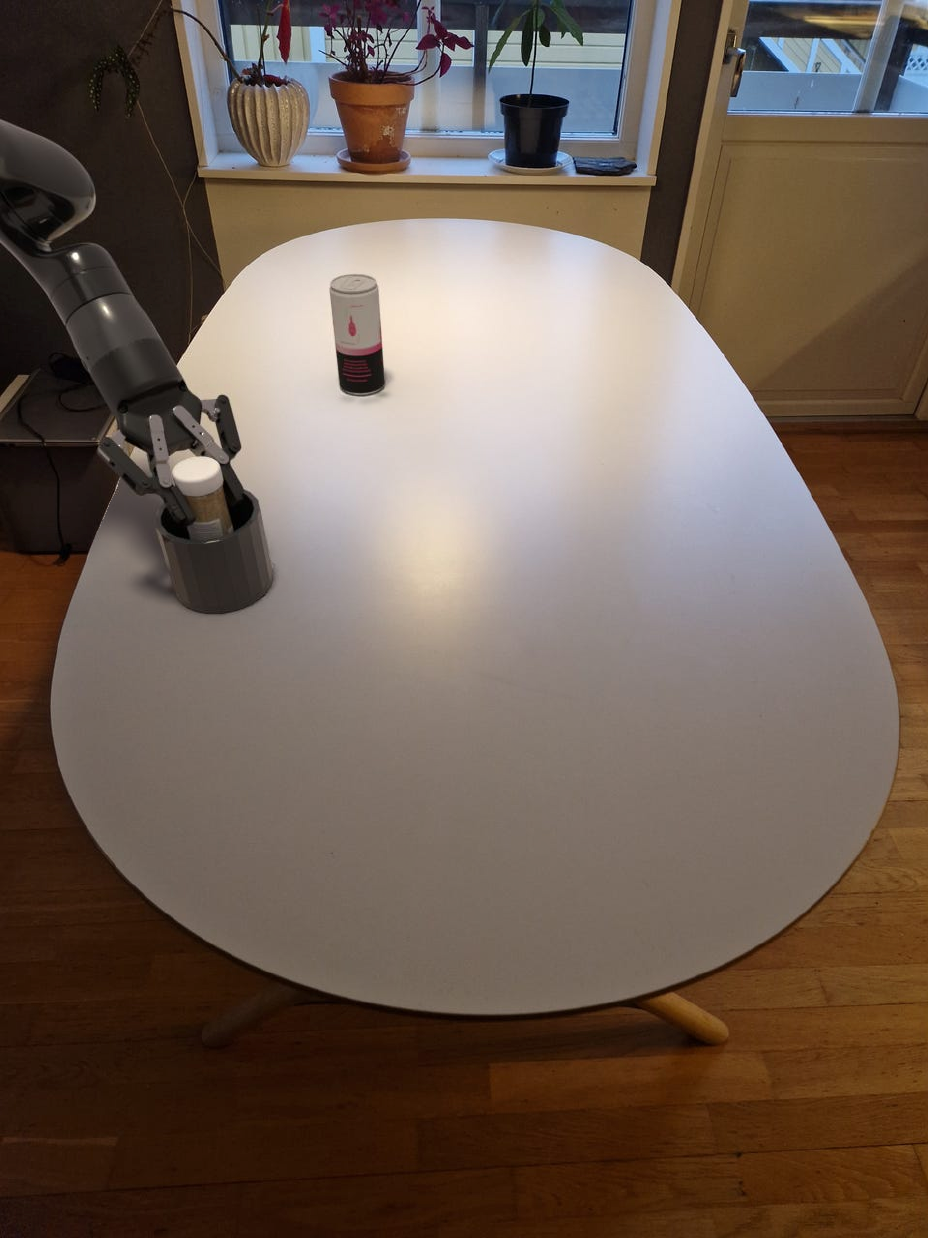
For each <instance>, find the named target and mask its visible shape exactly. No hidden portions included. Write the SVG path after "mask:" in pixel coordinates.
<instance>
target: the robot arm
mask: <svg viewBox="0 0 928 1238" xmlns="http://www.w3.org/2000/svg"><path fill="white" fill-rule="evenodd" d="M96 197H97V194H96V190H95V186H94V182H93V180H92V178H91V176H90V174H89V172H88V171H87V169H86V168H85V166H83V164H82V163H81V162H80V161H79V160H78V159H77V158H76V157H75V156H74V155H73V154H72V153H70V152H69V151H68V150H67V149H66V148H64V147H62V146H60V145H59V144H57V143H56V142H55V141H52V140H50V139H48V138H46V137H44V136H42V135H39V134H37V133H34V132H32V131H29V130H27V129H25V128H22V127H20V126H18V125H15V124H13V123H11V122H9V121H6V120H4V119H1V118H0V244H1V245H2V246H4V248H6V250H7V251H9V252H10V253H11V254H12V255H13V256H14V257H15V258H16V259H17V260H18V261H19V263H20V264H21V265H22V266H23V267H24V268H25V269H26V270H27V272H29V274H30V275H31V276H32V277H33V278H34V280H35V281H36V282H37V284H39V286H40V287H41V288H42V290H43V291H44V292H45V294H46V295H47V297H48V299H49V301H50V302H51V304H52V306H53V307H54V309H55V311H56V313H57V314H58V316H59V318H60V320H61V321H62V324H63V325H64V327H65V328H66V331H67V332H68V334H69V337H70V339H71V341H72V344H73V347H74V349H75V351H76V352H77V355H78V356H79V358H80V359H81V360H80V361H81V363H82V365H83V368H84V369H85V371H87V373H88V374H89V375H90V377H91V379H92V381H93V383H94V385H95V386H96V388H97V389H98V391H99V393H100V395H101V397H102V398H103V400H104V402H105V403H106V405H107V407H108V409H109V411H110V412H111V414H112V416H113V417H114V419H115V421H116V431H115V432H114V433H113V434H111V435H110V436H103V437H101V438H100V439H99V443H98V446H97V449H96V454H97V455H98V457H99V458H100V459H101V460H102V461H103V462H105V464H106V465H107V466H108V467H109V468H110V469H111V470H112V471H113V472H114V473H115V474H116V475H117V476H118V477H119V478H120V479H121V480H122V481H123V482H124V483H125V485H127V486H128V487H129V488H130V489H131V490H132V491H133V492H134V493H135V494H136V495H137V496H139V497H144V496H146V495H157V496H158V497H160V498H161V500H162V502H163V504H164V503H165V505H166V507H167V509H168V510H169V512H170V514H171V516H172V517H173V519H174V520H175V521H176V522H177V523H178V524H179V523H183V525H184V526H185V527H188V526H190V525H192V524H193V523H194V522H195V521H196V518H195V516H194V514H193V512H192V510H191V509H190V507H189V505H188V503H187V502H186V500H185V498H184V496H183V495H182V493H181V491H180V489H179V488H178V486H177V485H176V486H175V484H174V480H173V476H172V471H171V467H170V457H171V456H173V454H174V453H176V452H183V451H184V452H185V451H186V450H189V451H190V452H191V453H192V454H193V455H194V456H195V457H199V456H202V457H209V458H212V459H214V460H216V461H217V462H218V463H219V465H220V467H221V471H222V476H223V490H224V494H225V496H226V498H227V500H228V501H229V503H230V505H231V506H232V507H233V506H236V505H238V504H240V502H241V501H242V500H243V497H242V494H243V493H244V489H245V488H244V486H243V484H242V482H241V481H240V479H239V477H238V475H237V474H236V472H235V470H234V469H233V466H232V463H231V461H232V460H234V459H235V458H236V456H237V454H238V453H239V452H241V449H242V442H241V440H240V435H239V431H238V427H237V424H236V420H235V417H234V412H233V409H232V405H231V402H230V401H231V400H230V398H229V397H228V395H226V394H219V395H218V396H217V397H216V398H209V399H200V398H199V396H197V395H196V394H195V393H193V392H192V391H191V390H190V388H189V387H188V384H187V383H186V380H185V379H184V377H183V375H182V373H181V372H180V369H179V368H178V366H177V365H176V363H175V361H174V359H173V357H172V355H171V354H170V352H169V350H168V348H167V347H166V345H165V343H164V341H163V340H162V338H161V336H160V334H159V333H158V331H157V329H156V327H155V325H154V324H153V322H152V321H151V319H150V317H149V315H148V314H147V312H146V311H145V309H143V307H142V306H141V305H140V303H139V302H138V300H137V299H136V297H135V296H134V294H133V292H132V290H131V289H130V287H129V285H128V283H127V281H126V279H125V278H124V276H123V274H122V273H121V270H120V269H119V266H118V265H117V263H116V261H115V260H114V258H113V257H112V255H111V254H110V253H109V252H108V250H107V249H105V248H104V247H103V246H101V245H99V244H98V243H94V242H80V243H74V244H70V245H67V246H63V247H60V248H57V249H54V250H52V248H51V246H50V244H52V242H54V241H55V240H56V239H58V238H60V237H61V236H62V235H64V234H65V233H67V232H69V231H70V230H72V229H73V228H74V227H76V226H77V225H79V224H81V223H83V222H84V221H85V220H86V219H87V218H89V216H91V214H92V212H93V211H94V209H95V206H96V202H97V201H96V199H97V198H96ZM203 413H204V414H205V415H206V416H207V418H208V420H209V421H210V422H212V423H214V424H215V428H216V432H217V436H218V439H219V442H220V446H219V444H217V443H216V441H215V439H214V437H213V436H212V435H211V434H210V433H209V432H208V430H206V429H205V428H204V427H203V426H202V425H201V424H202V423H201V422H202V414H203ZM125 442H126V443H127V444H130V445H132V446H134V447H135V448H137V449H138V450H140V451H143V452H145V453H146V458H147V459H146V460H147V463H148V468H149V472H150V473H151V476H150V477H149V475H147V474H146V472H144V470H143V469H141V467H140V466H138V464H137V463H136V462H135V461H134V460H133V459H132V458H131V457H130V456H129V455H128V454H127V453H128V447H127V446H126V444H125Z"/></svg>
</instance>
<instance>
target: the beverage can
mask: <svg viewBox="0 0 928 1238" xmlns="http://www.w3.org/2000/svg"><path fill="white" fill-rule="evenodd" d="M329 298H330V299H329V300H330V308H331V318H332V328H333V337H334V338H333V339H334V346H335V357H336V366H337V373H338V374H337V375H338V384H339V387H340V389H342V390H343V391H344V392H346V393H347V394H350V395H354V396H367V395H372V394H375V393H377V392H378V391H380V390H381V389H382V388H383V387H384V385H385V382H386V381H385V366H384V365H385V364H384V350H383V349H384V348H383V336H382V322H381V308H380V292H379V285H378V283H377V279H376V278H375V277H373V276H371V275H368V274H363V273H347V274H342V275H339V276H336V277H334V278H332V279H331V280H330V282H329Z"/></svg>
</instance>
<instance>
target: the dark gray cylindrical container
mask: <svg viewBox="0 0 928 1238" xmlns="http://www.w3.org/2000/svg"><path fill="white" fill-rule="evenodd" d="M243 489H244V493H243V494H242V497H243V500H242V501H241V502H240V504H238V505H236V506H233V507H232V506H231V505H230V503H229V501H228V500H227V498H226V496H225V498H226V502H227V507H228V512H229V515H230V519H231V523H232V526H233V530H234V532H232V533H229V534H227V535H224V536H221V537H218V538H212V539H207V540H190V536H189V532H188V529H187V527H185V526H184V525H183V523H179V524H178V523H177V522H176V521H175V520H174V519H173V517H172V516H171V514H170V512H169V510H168V509H167V507H166V505H165V503H164V502H163V503H162V504H161V505H160V506H159V507H158V509H157V511H156V513H155V515H154V527H155V530H156V533H157V537H158V541H159V544H160V547H161V551H162V555H163V557H164V561H165V564H166V567H167V568H166V569H167V571H168V575H169V578H170V581H171V585H172V589H173V591H174V593H175V597H176V598H177V600H178V601H179V602H180V603H181V604H182V606H184V607H186V608H187V609H189V610H192V611H194V612H198V613H203V614H209V615H211V614H212V615H213V614H225V613H226V614H227V613H232V612H236V611H240V610H242V609H244V608H247V607H249V606H251V605H253V604H254V603H256V602H258V601H259V600H260V599H261V598H263V597H264V596H265V595H266V593H267V592H268V591H269V590H270V588H271V586H272V583H273V578H274V576H273V568H272V563H271V558H270V553H269V548H268V542H267V536H266V532H265V527H264V520H263V516H262V510H261V506H260V502H259V499H258V498H257V497H256V496H255V495H254V494H253V493H252V492H251V491H249V490H247V489H245V488H243Z"/></svg>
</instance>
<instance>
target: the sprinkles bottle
mask: <svg viewBox="0 0 928 1238" xmlns="http://www.w3.org/2000/svg"><path fill="white" fill-rule="evenodd" d="M171 476H172V481H173V485H174V486H176V485H177V486H178V488H179V489H180V491H181V493H182V495H183V496H184V498H185V500H186V502H187V503H188V505H189V507H190V509H191V510H192V512H193V514H194V516H195V518H196V521H195V522H194V523H193V524H192V525H190V526H188V527H187V529H188V532H189V536H190V540H207V539H212V538H218V537H221V536H224V535H227V534H229V533H232V532H234V530H233V526H232V523H231V519H230V515H229V512H228V507H227V502H226V498H225V494H224V490H223V476H222V471H221V467H220V465H219V463H218V462H217V461H216V460H214V459H212V458H209V457H202V456H199V457H197V456H192V457H187V458H185V459H183V460H180V461H179V462H177V463H176V464H175V465H174V467H173V468H172V471H171Z"/></svg>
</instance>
